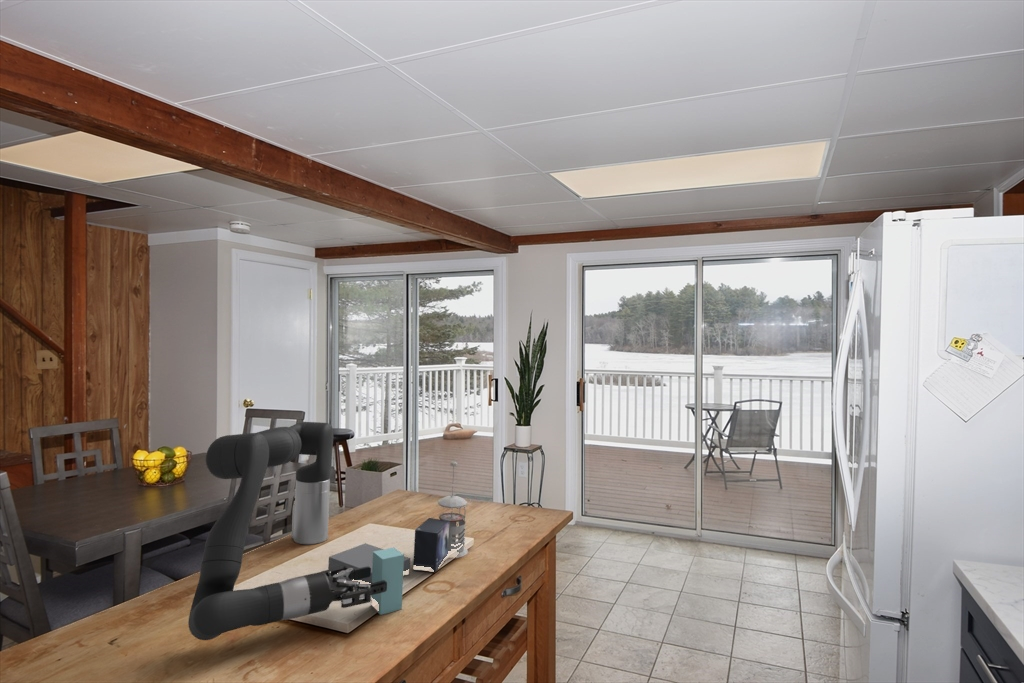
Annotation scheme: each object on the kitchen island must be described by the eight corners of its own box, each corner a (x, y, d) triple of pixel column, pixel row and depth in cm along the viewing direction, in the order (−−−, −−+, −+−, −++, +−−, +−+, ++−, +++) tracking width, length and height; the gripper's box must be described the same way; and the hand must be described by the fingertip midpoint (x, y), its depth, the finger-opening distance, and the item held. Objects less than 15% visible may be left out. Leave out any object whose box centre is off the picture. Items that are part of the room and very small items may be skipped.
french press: (425, 554, 161) (429, 462, 161) (446, 540, 172) (449, 454, 172) (458, 560, 158) (461, 467, 157) (476, 546, 168) (480, 459, 168)
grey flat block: (328, 572, 147) (328, 556, 147) (364, 558, 157) (365, 543, 157) (374, 590, 138) (374, 573, 138) (409, 574, 148) (410, 558, 148)
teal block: (370, 605, 131) (373, 551, 130) (391, 600, 134) (393, 547, 133) (380, 615, 127) (382, 559, 126) (401, 609, 130) (403, 554, 129)
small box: (436, 574, 149) (438, 532, 149) (411, 570, 150) (413, 529, 150) (449, 558, 159) (450, 519, 159) (426, 555, 160) (427, 517, 160)
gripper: (314, 590, 113) (392, 572, 123) (292, 565, 125) (365, 550, 134) (313, 629, 114) (391, 608, 123) (291, 600, 125) (364, 583, 135)
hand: (378, 578), depth 129 cm, fingers open, 8 cm apart
